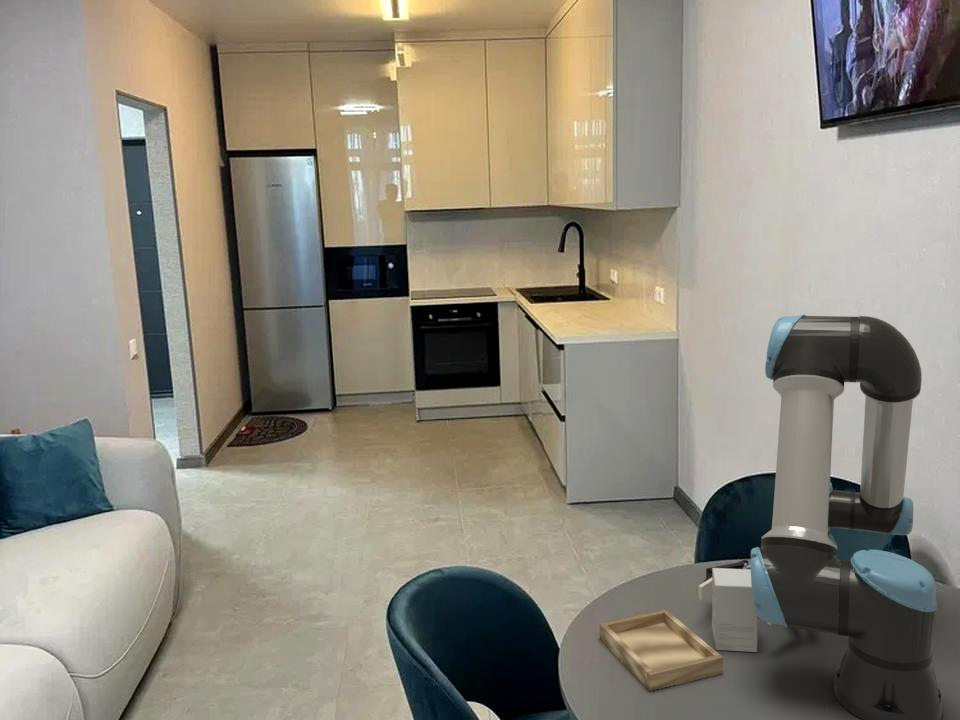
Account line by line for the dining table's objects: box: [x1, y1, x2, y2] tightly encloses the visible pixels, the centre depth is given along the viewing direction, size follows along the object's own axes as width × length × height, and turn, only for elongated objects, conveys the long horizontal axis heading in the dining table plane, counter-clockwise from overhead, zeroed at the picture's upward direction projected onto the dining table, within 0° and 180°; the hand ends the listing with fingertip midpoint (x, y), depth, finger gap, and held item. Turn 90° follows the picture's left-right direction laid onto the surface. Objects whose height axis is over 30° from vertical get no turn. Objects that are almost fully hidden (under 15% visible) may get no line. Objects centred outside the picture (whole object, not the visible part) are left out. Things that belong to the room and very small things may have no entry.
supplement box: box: [711, 568, 759, 653], centre depth 142 cm, size 7×7×13 cm
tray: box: [599, 609, 724, 692], centre depth 139 cm, size 18×14×3 cm
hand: (733, 605), depth 142 cm, fingers open, 13 cm apart
